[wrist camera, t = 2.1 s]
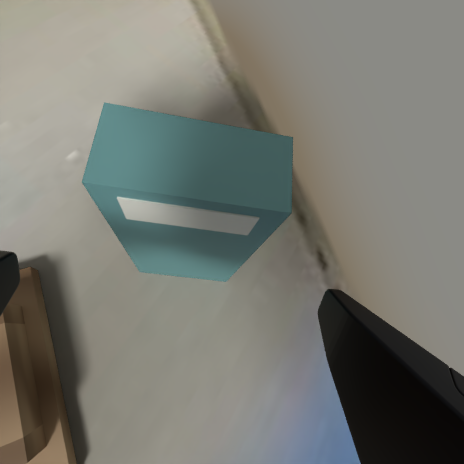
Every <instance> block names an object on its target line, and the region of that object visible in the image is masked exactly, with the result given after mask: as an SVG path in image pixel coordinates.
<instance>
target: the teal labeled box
mask: <svg viewBox="0 0 464 464" xmlns="http://www.w3.org/2000/svg"><path fill="white" fill-rule="evenodd" d="M292 158H293V137H289V136H283V135H278V134H272V133H267V132H262V131H256V130H251V129H245V128H240V127H234V126H229V125H224V124H218V123H213V122H207V121H202V120H196V119H191V118H185V117H180V116H175V115H169V114H164V113H158V112H153V111H147V110H142V109H137V108H131V107H126V106H120V105H115V104H109V103H104V105H103V109H102V112H101V116H100V119H99V123H98V126H97V130H96V134H95V137H94V141H93V144H92V148H91V151H90V155H89V158H88V162H87V165H86V169H85V173H84V176H83V180H82V183H83V185H84V186H85V188H86V189H87V191H88V192H89V194H90V196H91V197H92V199H93V200H94V202H95V203H96V205H97V206H98V208H99V210H100V211H101V213H102V214H103V216H104V217H105V219H106V220H107V222H108V224H109V225H110V227H111V228H112V230H113V231H114V233H115V234H116V236H117V238H118V239H119V241H120V242H121V244H122V245H123V247H124V248H125V250H126V252H127V253H128V255H129V256H130V258H131V259H132V261H133V262H134V264H135V265H136V267H137V269H138V270H139V272H145V273H154V274H163V275H171V276H180V277H189V278H198V279H207V280H216V281H224V282H226V281H227V280H228V279H229V278H230V277H231V276H232V275H233V274H234V273H235V272H236V271H237V270H238V269H239V268H240V267H241V266H242V264H243V263H244V262H245V261H246V260H247V259H248V258H249V257H250V256H251V255H252V254H253V253H254V252H255V251H256V250H257V249H258V248H259V247H260V246H261V245H262V244H263V242H264V241H265V240H266V239H267V238H268V237H269V236H270V235H271V234H272V233H273V232H274V231H275V230H276V229H277V228H278V227H279V226H280V225H281V224H282V223H283V222H284V220H285V219H286V218H287V217H288V216H289V215H290V214H291V211H292V160H293V159H292Z"/></svg>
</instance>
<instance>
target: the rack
mask: <svg viewBox="0 0 464 464" xmlns="http://www.w3.org/2000/svg"><path fill="white" fill-rule="evenodd" d="M19 271H20V283H19V286H18V287H17V289H16V291H15V293H14V294H13V296H12V298H11V299H10V301H9V303H8V304H7V306H6V308H5V310H4V311H3V313H2V315H1V316H0V464H77V462H76V457H75V452H74V447H73V442H72V437H71V432H70V427H69V422H68V417H67V412H66V407H65V402H64V397H63V392H62V387H61V382H60V377H59V372H58V367H57V362H56V357H55V352H54V348H53V343H52V338H51V333H50V328H49V323H48V318H47V313H46V308H45V303H44V298H43V293H42V288H41V283H40V278H39V273H38V270H36V269H34V268H32V267H28V268H24V269H21V270H19Z"/></svg>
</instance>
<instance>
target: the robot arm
mask: <svg viewBox="0 0 464 464" xmlns="http://www.w3.org/2000/svg"><path fill="white" fill-rule="evenodd" d="M19 283H20V271H19V265H18V259H17V255H16V254H15V253H14V252H8V251H0V316H1V315H2V313H3V311H4V310H5V308H6V306H7V304H8V303H9V301H10V299H11V298H12V296H13V294H14V293H15V291H16V289H17V287H18V286H19ZM318 319H319V324H320V328H321V333H322V338H323V343H324V347H325V352H326V357H327V361H328V364H329V368H330V371H331V374H332V377H333V380H334V383H335V386H336V389H337V392H338V395H339V398H340V402H341V405H342V408H343V411H344V414H345V417H346V420H347V423H348V426H349V429H350V432H351V435H352V438H353V442H354V445H355V448H356V451H357V454H358V457H359V460H360V463H361V464H464V376H462V375H461V374H459V373H458V372H457V371H455V370H454V369H452V368H449V366H448V365H447V364H445V363H444V362H442V361H441V360H439V359H438V358H437V357H435V356H434V355H432V354H431V353H429V352H428V351H426V350H425V349H424V348H422V347H421V346H419V345H418V344H417V343H415V342H414V341H412V340H411V339H410V338H408V337H407V336H405V335H404V334H402V333H401V332H400V331H398V330H397V329H395V328H394V327H392V326H391V325H389V324H388V323H387V322H385V321H384V320H382V319H381V318H379V317H378V316H377V315H375V314H374V313H372V312H371V311H370V310H368V309H367V308H365V307H364V306H363V305H361V304H360V303H358V302H357V301H355V300H354V299H353V298H351V297H350V296H348V295H347V294H345V293H344V292H343V291H341V290H335V289H328V290H326V292H325V294H324V296H323V299H322V301H321V304H320V306H319V309H318Z"/></svg>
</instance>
